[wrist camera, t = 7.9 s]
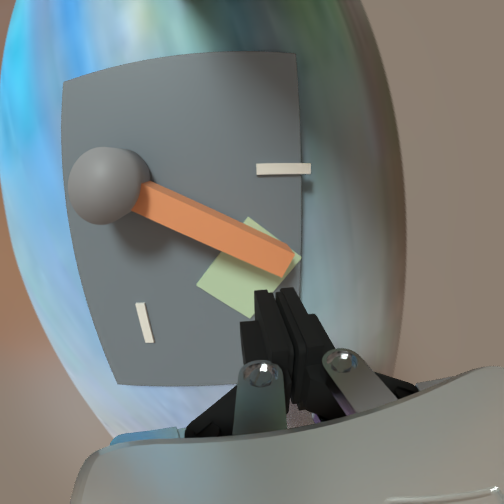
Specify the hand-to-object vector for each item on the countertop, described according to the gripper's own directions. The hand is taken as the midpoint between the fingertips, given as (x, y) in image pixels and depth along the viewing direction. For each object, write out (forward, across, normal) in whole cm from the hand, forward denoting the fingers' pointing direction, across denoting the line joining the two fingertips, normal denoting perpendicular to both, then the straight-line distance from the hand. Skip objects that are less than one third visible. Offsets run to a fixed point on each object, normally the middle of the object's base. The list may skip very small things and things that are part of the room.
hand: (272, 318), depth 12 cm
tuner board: (+6, +4, -2) cm, 8 cm away
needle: (+5, +4, -4) cm, 7 cm away
